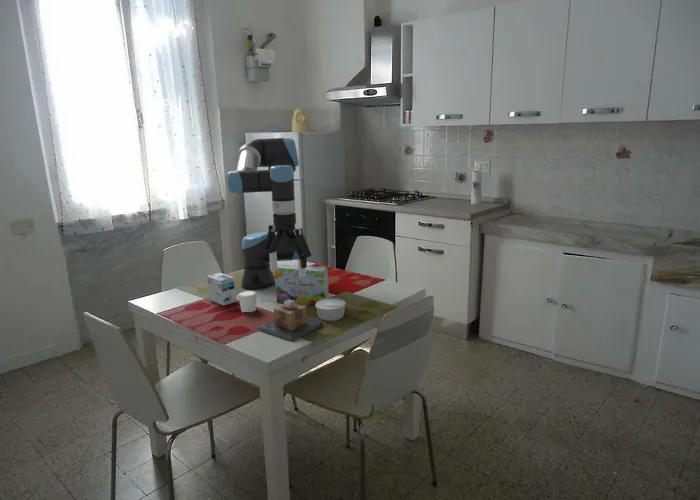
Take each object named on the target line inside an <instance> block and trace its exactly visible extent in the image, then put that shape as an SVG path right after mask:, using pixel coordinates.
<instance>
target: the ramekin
mask: <svg viewBox="0 0 700 500" xmlns="http://www.w3.org/2000/svg"><path fill="white" fill-rule="evenodd" d="M314 307H315V309H316V313H317V316H318V318H319V319H320V320H321V321H324V322H332V321H333V322H335V321H338V320H340V319H342V318H344V315H345V307H346V301H345V300H343V299H340V298H336V297H335V298H330V297H329V299H323V300H320V301H318V302H317V303H316V305H315V306H314Z"/></svg>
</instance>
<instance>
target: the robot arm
mask: <svg viewBox="0 0 700 500" xmlns="http://www.w3.org/2000/svg"><path fill="white" fill-rule="evenodd" d="M237 150H238V151H237V153H236V163H237V165H236V169H235V170H232V171H229V172H228V173H227V176H226V177H227V180H226V181H227V190H228V191H229V192H230V193H231V194H244V193H246V194H248V193H251V194H252V193H264V192H265V193H268V192H269V193H271V203H272V212H273V214H272V219H273V220H272V221H273V224H270V225H268V232H267V231H266V232H265V231H264V232H263V231H262V232H261V231H260V232H255V233H251V234H247V235H245V236H244V237H243V238H242V241H241V249H242V259H243V260H242V262H243V273H242V278H241V282H240V284H241V287H242V288H243V289H247V290H265V289H267V288H271V287H273V286H274V285H276V283H275V274H273V272H275V270H278V267H277V266H278V262H284V261H287V262H288V261H297V264H298V270H299V278H302V277H305V276H306V267H307V266H308V263H307V261H308V260H307V258H310V257H312V253H311V251H310V248H309V245H308V243H307V241H306V238H305V235H304V230H303V228H302V227H301V228H297V227H296V224H297V214H296V199H295V198H296V197H295V179H294V178H295V174H294V173H295V172H296V171H297V167H299V165H300V162H299V157H298V151H297V146H296V141H295V140H294V139H293V138H290V137H289V138H288V137H287V138H285V137H275V138H273V137H272V138H256V139H252V140H249V141H248V142H246V143H245V144H242V145H241V146H240V148H239V149H237ZM258 168H267V169H258Z"/></svg>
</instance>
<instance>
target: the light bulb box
mask: <svg viewBox="0 0 700 500" xmlns="http://www.w3.org/2000/svg"><path fill="white" fill-rule="evenodd" d="M206 278H207V285H208V286H207V287H208V295H209V301H210V302H214V303H216V304H219V305H221V306H222V307H224V306H226V305H231V304H233V303H237V290H236V279H235V276H231V275H229V274H225V273H222V272H217V273H214V274H210V275H209V274H208V275H207V277H206Z"/></svg>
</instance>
